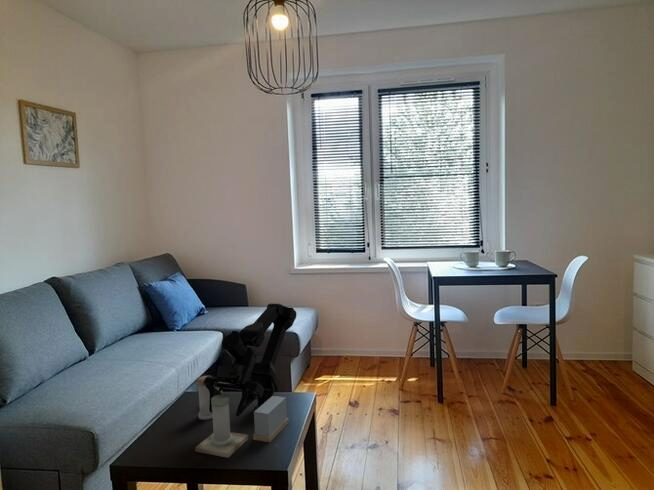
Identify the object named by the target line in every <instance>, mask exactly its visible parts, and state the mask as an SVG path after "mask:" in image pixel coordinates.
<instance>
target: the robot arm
mask: <svg viewBox="0 0 654 490" xmlns="http://www.w3.org/2000/svg"><path fill="white" fill-rule="evenodd" d="M296 318H297V311H296V310H295V309H294V307H290V306H289V307H288V306H285V305H283V304H281V303H271V302H270V303H268V304H267V305H266V309H265V310H264V311H263V312H262V313H261V314H260V315H259V316H258V318H256V320H255V321H254V322H253V323H251V324H248V325H246V326H245V327H244V328H242V329H241V330H240V331H238V330H232V331H231V333H229V334H228V335H226V336H225V337H224V338H223V339H222V342H221V347H222V349H223V350H224V351H225V352H226V353H227V354H228V355H229V356H230V357H231V358H232V363H229V364H228V366H226V365H225V366H223V365H218V367H217V372H216V373H217V374H216V376H212V375H206V376H207V377H206V378H205V379H204V382H203V384H204V385H205V386H206V388H207V389H208V390H209V394H210V404H209V412H211V413H212V404H211V398H212V397H214V396H216V395H221V394H222V395H223V390H224V389H226V390H234V391H241V399H240V401H239V404H238V405H237V406H238V407H237V410H236V413H235V417H240V415H241V414H242V413H243V412H244V411H245V410H246V409H247V408H248V407H249V405H251V404H252V403H253V402H254V401H255V400H257V404H256V405H254V407H253V409H254V410H257V409H258V408H259V407H260V406H261V405H262V404H264V403H265V402H266V401H267V400H268V399H269V398H271V397H272V396H275V393H276V392H279V389H280V386H281V385H280V380H279V379H278V378H277V372H276V369H275V365H276V361H277V359H278V355H279V353H280V350H281V346H282V343H283V341H284V338H285V334H286V332H287V331H288V330H289V329H290V328H291V327H292V326H293V325H294V322H295V320H296ZM272 324H273V327H272V330H271V332H270V335H269V338H268V341H267V344H266V347H265V350H264V351H263V352H264V353H263V355H262V358H261V360H260V361H259V362H254V363H253V366H252V369H251V371H249V370H250V368H251V365H252V362H253V359H257V358H258V356H257V353H256V351H255V349H252V348H260V347H261V346H262V344H263V342H264V340H265V339H266V336H265V334H266V332H267V331H268V329H269V328H270V327H271V326H272ZM248 376H249V377H248ZM219 377H221V378H222V380H224V381H222V380H221V379H220V378H219ZM247 377H248V379H249V380H247ZM246 380H247V381H246ZM220 391H222V393H221V392H220Z"/></svg>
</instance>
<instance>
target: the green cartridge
mask: <svg viewBox="0 0 654 490" xmlns="http://www.w3.org/2000/svg"><path fill="white" fill-rule="evenodd" d="M211 404H212V415H213V418H212V428H213V429H212V430H213V432H212V433H214V436H213V437H212V444H213V445H216V446H224V445H227V444H229V443H231V442H232V440H233V435H232V434H231V433H230V432H231V421H230V419H231V416H230V405H229V404H230V399H229V395H228V394H222V395H216V396H214V397H212V398H211Z"/></svg>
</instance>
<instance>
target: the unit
mask: <svg viewBox="0 0 654 490" xmlns="http://www.w3.org/2000/svg"><path fill="white" fill-rule="evenodd" d="M287 410H288V409H287V397H285V396H278V395H277V396H276V395H274V396H272V397H271V398H269V399H268V400H267V401H266V402H265V403H264V404H262V405H261V406H260V407H259V408H258V409H254V410H253V419H254V421H253V422H254V433H253V434H252V438H253V439H252V440H254V441H260V442H264V443H271V442H272V441H273V440H274V439H275V438H276V437H277V435H279V434H280V432H282V431H283V429H284V428H286V427H287V425H288V424H289V423H290V418H289V417H288V415H287V413H288V412H287Z"/></svg>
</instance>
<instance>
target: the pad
mask: <svg viewBox="0 0 654 490" xmlns="http://www.w3.org/2000/svg"><path fill="white" fill-rule="evenodd" d="M230 433H231V434H232V435H233V440H232V442H231V443H229V444H227V445H224V446H216V445H213V444H212V437H213V436H214V432H212V434H210V435H208V436H207V437H206V438H205V439H204V440H203V441H201V442H200V443H199V444H198V445H197V446H196V447H194V449H195V450H194V451H195V452H196V453H200V454H207V455H212V456H217V457H222V458H227V459H228V458H230V457H231V456H232V455H233V454H234V453H235V452H236V451H237V450H238V449H239V448H240V447H241V446H242V445H243V444H245V442H247V441H248V440H249V434H245V433H239V432H232V431H230Z"/></svg>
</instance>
